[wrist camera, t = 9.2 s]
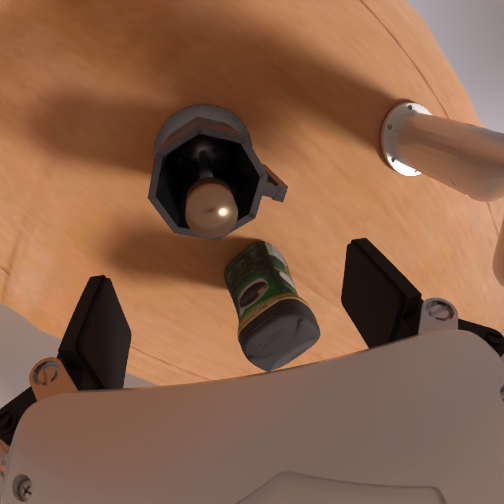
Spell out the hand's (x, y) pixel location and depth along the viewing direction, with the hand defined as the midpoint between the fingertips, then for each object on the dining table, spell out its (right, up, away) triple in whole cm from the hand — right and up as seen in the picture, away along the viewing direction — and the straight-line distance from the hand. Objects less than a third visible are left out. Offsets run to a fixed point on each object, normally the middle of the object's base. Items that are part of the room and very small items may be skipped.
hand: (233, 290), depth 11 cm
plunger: (-6, +14, +26) cm, 30 cm away
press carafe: (-6, +15, +27) cm, 31 cm away
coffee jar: (+1, -1, +37) cm, 37 cm away
